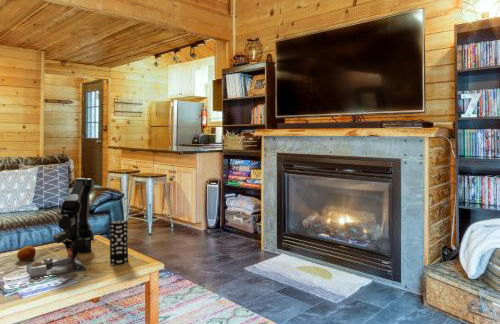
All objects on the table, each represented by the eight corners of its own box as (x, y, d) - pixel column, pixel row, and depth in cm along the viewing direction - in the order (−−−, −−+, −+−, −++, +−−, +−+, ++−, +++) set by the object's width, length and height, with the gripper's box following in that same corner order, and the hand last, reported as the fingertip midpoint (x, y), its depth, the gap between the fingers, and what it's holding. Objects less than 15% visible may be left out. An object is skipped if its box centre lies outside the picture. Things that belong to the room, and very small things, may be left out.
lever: (37, 269, 176) (37, 257, 176) (32, 268, 178) (32, 256, 178) (77, 259, 192) (76, 247, 192) (72, 257, 194) (72, 246, 194)
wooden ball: (43, 269, 177) (42, 258, 177) (44, 272, 173) (44, 261, 172) (30, 271, 174) (30, 260, 174) (31, 275, 170) (31, 263, 170)
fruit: (31, 260, 190) (23, 245, 191) (19, 267, 192) (11, 253, 192) (42, 255, 198) (35, 241, 199) (31, 262, 200) (24, 248, 200)
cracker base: (76, 258, 197) (76, 250, 197) (86, 270, 179) (85, 260, 179) (26, 266, 185) (26, 257, 185) (31, 279, 167) (30, 269, 167)
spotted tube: (131, 261, 193) (131, 221, 192) (119, 266, 186) (118, 224, 185) (118, 259, 197) (118, 219, 196) (106, 263, 189) (105, 222, 188)
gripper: (46, 224, 190) (46, 256, 191) (64, 230, 178) (64, 264, 179) (69, 221, 199) (69, 251, 200) (87, 227, 187) (87, 259, 188)
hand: (72, 256), depth 191 cm, fingers open, 4 cm apart
